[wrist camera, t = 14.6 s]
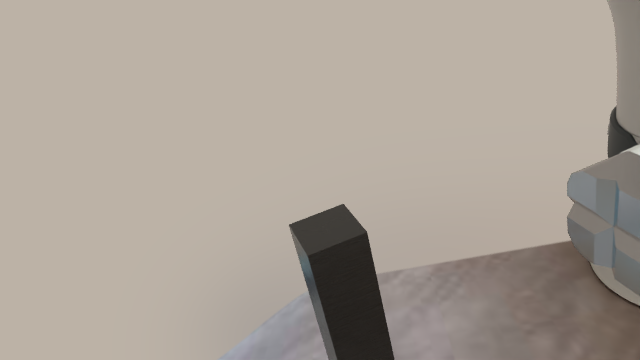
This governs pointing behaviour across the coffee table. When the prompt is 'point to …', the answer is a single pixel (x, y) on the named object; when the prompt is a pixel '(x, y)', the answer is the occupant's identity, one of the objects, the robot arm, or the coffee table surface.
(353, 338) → the grey l-shaped piece
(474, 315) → the coffee table surface
